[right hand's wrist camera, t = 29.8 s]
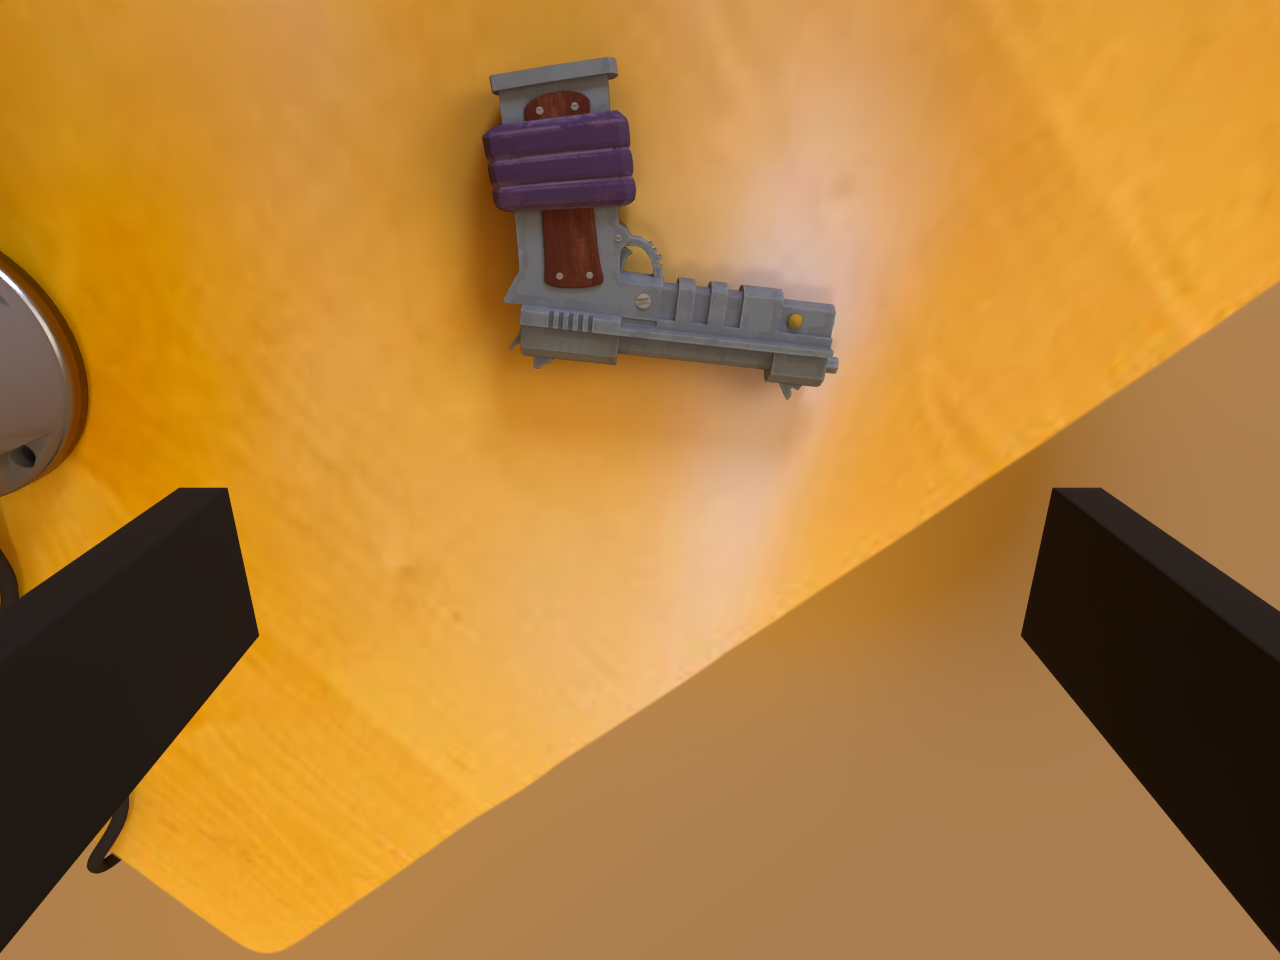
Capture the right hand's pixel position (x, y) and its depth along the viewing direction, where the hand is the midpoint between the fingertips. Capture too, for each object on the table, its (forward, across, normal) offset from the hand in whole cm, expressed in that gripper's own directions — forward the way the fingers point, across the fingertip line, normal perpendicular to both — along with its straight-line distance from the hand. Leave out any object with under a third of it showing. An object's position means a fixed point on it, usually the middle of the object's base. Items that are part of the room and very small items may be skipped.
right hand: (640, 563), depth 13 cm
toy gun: (+31, -2, -3) cm, 31 cm away
